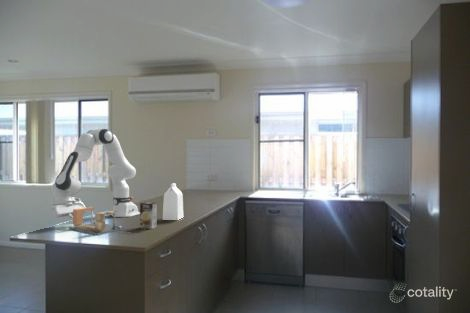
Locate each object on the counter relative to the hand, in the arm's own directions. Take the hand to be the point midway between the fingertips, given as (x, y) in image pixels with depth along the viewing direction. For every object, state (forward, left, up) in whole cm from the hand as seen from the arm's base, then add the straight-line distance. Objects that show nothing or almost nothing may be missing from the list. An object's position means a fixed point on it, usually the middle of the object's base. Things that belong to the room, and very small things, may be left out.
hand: (75, 219), depth 221 cm
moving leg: (-5, +3, -3) cm, 6 cm away
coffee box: (-28, +36, -6) cm, 46 cm away
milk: (-58, +30, -6) cm, 66 cm away
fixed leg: (-5, +14, -4) cm, 15 cm away
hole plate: (-6, +14, -5) cm, 16 cm away
